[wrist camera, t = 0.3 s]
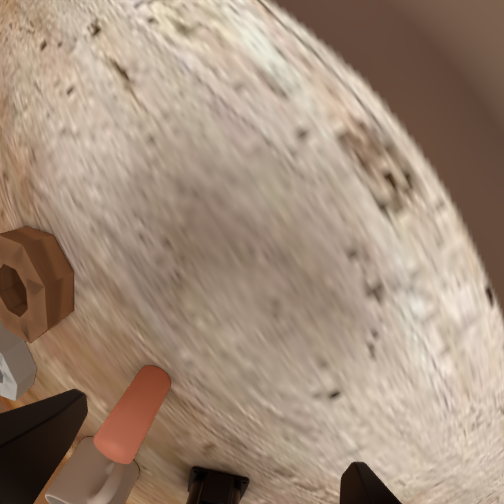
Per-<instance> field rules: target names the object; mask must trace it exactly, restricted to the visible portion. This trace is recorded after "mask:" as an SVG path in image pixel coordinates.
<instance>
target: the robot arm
mask: <svg viewBox="0 0 504 504" xmlns="http://www.w3.org/2000/svg"><path fill="white" fill-rule="evenodd" d="M87 412H88V407H87V399H86V395H85V393H83V392H81V391H79V390H77V389H72V390H69V391H66V392H64V393H61V394H58V395H55V396H52V397H49V398H47V399H44V400H41V401H38V402H35V403H32V404H29V405H26V406H23V407H19V408H16V409H13V410H10V411H7V412H4V413H0V504H33V503H34V502H35V500H36V498H37V497H38V495H39V494H40V492H41V491H42V489H43V488H44V486H45V485H46V483H47V481H48V480H49V478H50V477H51V475H52V474H53V472H54V471H55V469H56V468H57V466H58V465H59V463H60V462H61V460H62V459H63V457H64V456H65V455H66V453H67V452H68V450H69V448H70V447H71V445H72V443H73V441H74V439H75V437H76V435H77V433H78V431H79V429H80V427H81V425H82V423H83V421H84V419H85V418H86V416H87ZM248 484H249V479H247V478H242V477H237V476H232V475H227V474H223V473H218V472H214V471H210V470H206V469H202V468H198V467H193V468H192V470H191V475H190V480H189V485H188V492H189V496H188V499H187V503H186V504H239V502H240V500H241V498H242V496H243V494H244V492H245V490H246V488H247V486H248ZM340 504H402V503H401V502H400V501H399V500H398V499H397V498H396V497H395V496H394V494H393V493H392V492H391V491H390V490H389V489H388V488H387V487H386V486H385V485H384V483H383V482H382V481H381V480H380V479H379V478H378V477H377V476H376V474H375V473H374V472H373V471H372V470H371V469H370V468H369V467H368V465H367V464H366V463H364V462H353V463H351V464H350V466H349V467H348V468H347V470H346V471H345V472H344V473H343V475H342V477H341V486H340Z"/></svg>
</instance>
